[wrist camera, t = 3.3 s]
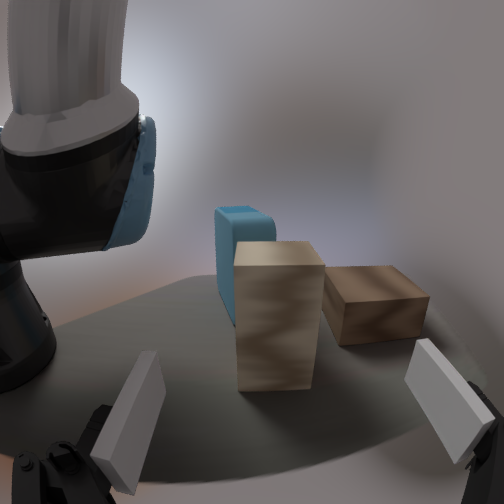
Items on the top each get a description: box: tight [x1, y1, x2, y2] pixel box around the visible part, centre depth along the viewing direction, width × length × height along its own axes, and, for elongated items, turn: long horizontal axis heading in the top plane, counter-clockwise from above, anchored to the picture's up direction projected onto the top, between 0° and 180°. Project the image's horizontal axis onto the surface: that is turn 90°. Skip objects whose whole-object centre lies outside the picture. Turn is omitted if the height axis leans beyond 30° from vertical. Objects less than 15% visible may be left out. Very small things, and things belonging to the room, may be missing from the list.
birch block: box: [234, 241, 325, 391], centre depth 23 cm, size 6×6×11 cm
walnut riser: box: [321, 266, 430, 346], centre depth 32 cm, size 10×10×5 cm
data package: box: [215, 206, 276, 325], centre depth 36 cm, size 12×4×12 cm, turn 16°
